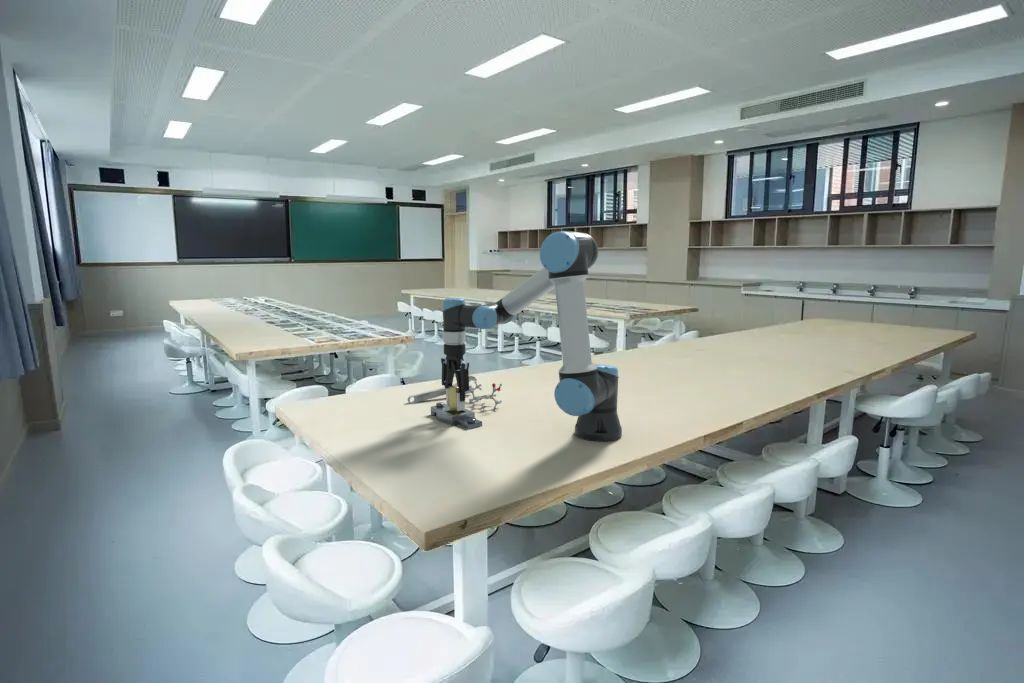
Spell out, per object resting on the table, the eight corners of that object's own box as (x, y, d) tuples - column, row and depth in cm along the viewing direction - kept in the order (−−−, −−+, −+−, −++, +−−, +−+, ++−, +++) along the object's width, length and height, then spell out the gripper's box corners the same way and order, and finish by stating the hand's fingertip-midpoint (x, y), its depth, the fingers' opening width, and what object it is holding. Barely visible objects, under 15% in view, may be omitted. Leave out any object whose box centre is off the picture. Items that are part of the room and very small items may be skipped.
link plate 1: (474, 420, 194) (474, 409, 193) (452, 425, 188) (452, 414, 187) (448, 410, 206) (448, 400, 205) (426, 415, 200) (426, 404, 199)
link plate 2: (486, 424, 189) (486, 417, 189) (463, 430, 183) (463, 423, 183) (458, 414, 201) (458, 407, 201) (436, 419, 195) (436, 412, 195)
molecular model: (458, 402, 218) (458, 377, 218) (480, 400, 224) (481, 376, 223) (483, 412, 202) (484, 385, 202) (506, 409, 208) (507, 383, 207)
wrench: (408, 410, 218) (476, 391, 232) (410, 411, 216) (478, 392, 230) (406, 390, 216) (474, 373, 230) (407, 391, 214) (476, 374, 229)
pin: (463, 420, 194) (463, 387, 192) (454, 422, 192) (453, 388, 190) (457, 417, 197) (456, 384, 195) (447, 419, 195) (447, 386, 193)
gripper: (479, 345, 186) (480, 411, 189) (447, 338, 200) (448, 400, 203) (461, 347, 181) (462, 416, 184) (430, 340, 195) (431, 404, 198)
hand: (455, 407), depth 194 cm, fingers open, 6 cm apart
